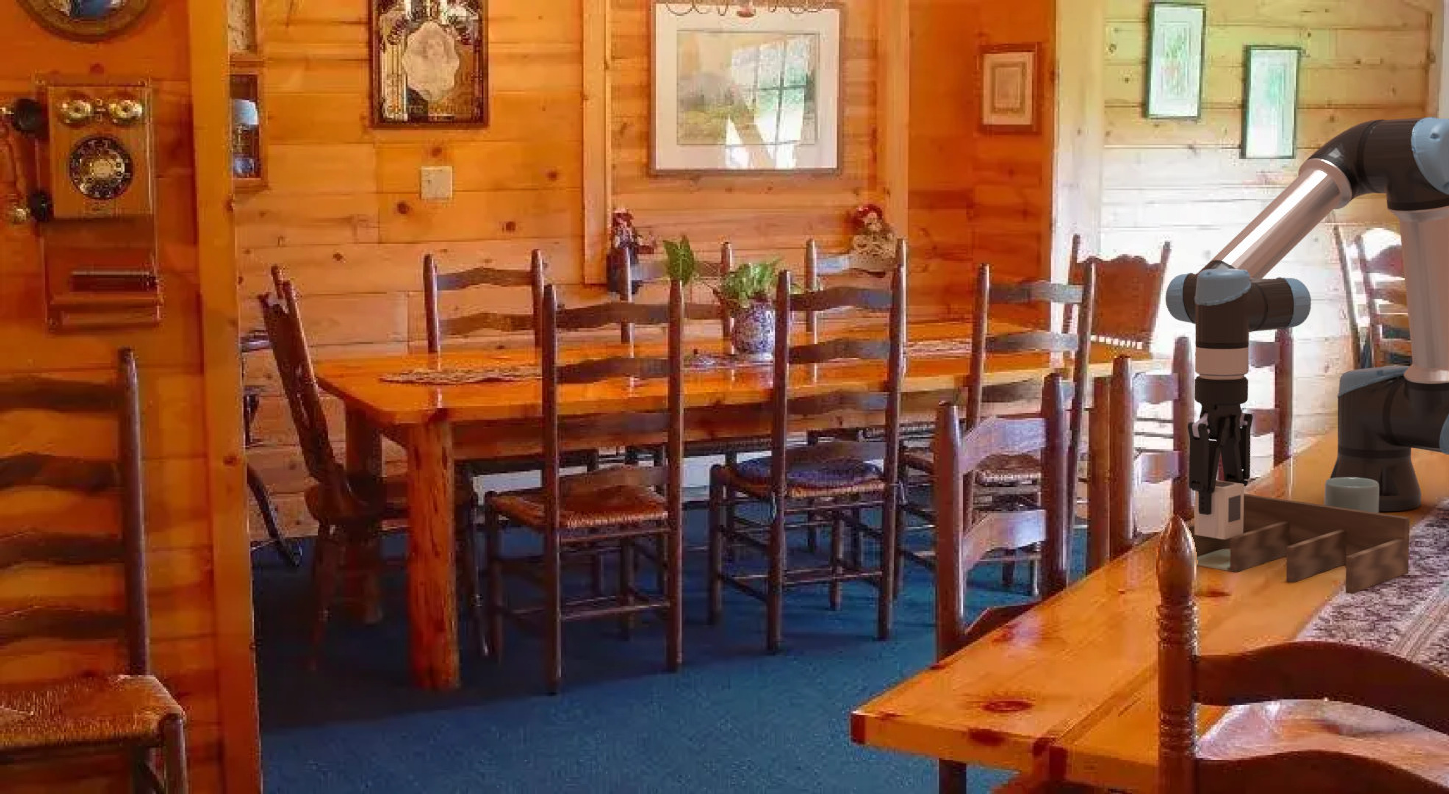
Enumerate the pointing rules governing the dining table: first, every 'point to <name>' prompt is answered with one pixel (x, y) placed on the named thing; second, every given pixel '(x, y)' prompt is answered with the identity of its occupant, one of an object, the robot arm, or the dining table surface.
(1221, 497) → the white upright rectangular block
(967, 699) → the dining table surface
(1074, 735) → the dining table surface
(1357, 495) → the cup
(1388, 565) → the cubby
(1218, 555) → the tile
